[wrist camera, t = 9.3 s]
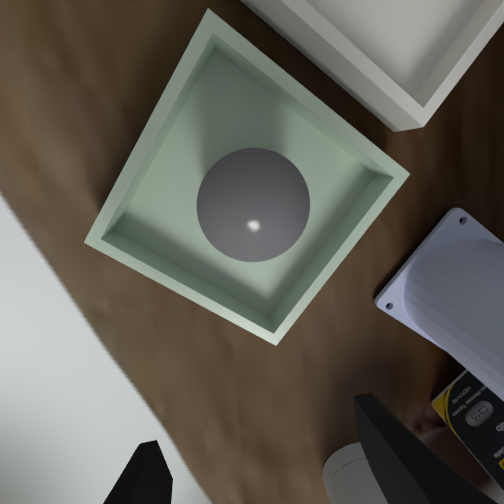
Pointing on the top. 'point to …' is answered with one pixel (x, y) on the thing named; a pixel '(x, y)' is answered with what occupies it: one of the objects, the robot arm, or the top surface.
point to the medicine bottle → (475, 421)
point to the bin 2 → (388, 47)
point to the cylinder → (253, 204)
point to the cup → (351, 478)
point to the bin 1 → (219, 145)
